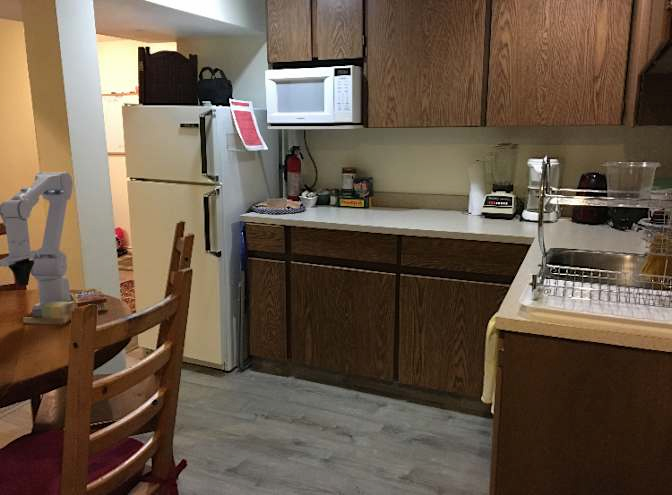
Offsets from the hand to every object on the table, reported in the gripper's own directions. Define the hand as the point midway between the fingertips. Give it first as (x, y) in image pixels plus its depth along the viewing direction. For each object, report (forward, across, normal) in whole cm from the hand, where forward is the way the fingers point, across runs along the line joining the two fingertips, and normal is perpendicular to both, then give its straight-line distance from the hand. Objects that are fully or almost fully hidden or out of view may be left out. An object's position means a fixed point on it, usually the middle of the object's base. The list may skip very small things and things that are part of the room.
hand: (23, 285), depth 173 cm
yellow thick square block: (+10, 0, -11) cm, 15 cm away
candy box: (+8, +8, -17) cm, 20 cm away
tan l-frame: (+10, 0, -8) cm, 13 cm away
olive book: (+10, 0, -8) cm, 13 cm away
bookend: (+10, 0, -5) cm, 12 cm away
